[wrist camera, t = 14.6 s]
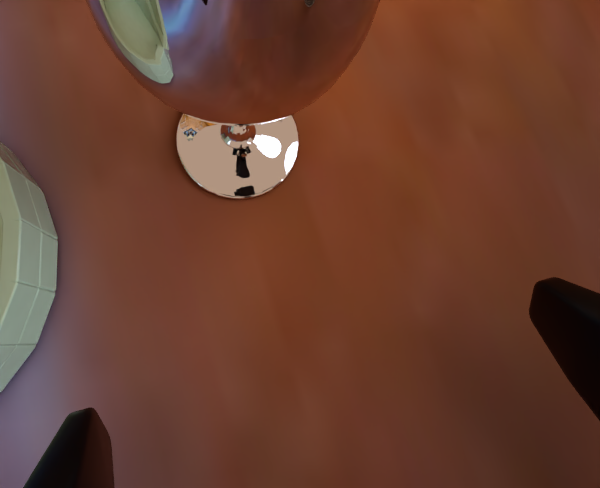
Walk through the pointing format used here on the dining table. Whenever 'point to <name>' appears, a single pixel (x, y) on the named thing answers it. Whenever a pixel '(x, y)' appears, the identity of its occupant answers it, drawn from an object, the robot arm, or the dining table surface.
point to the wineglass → (235, 75)
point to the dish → (23, 264)
